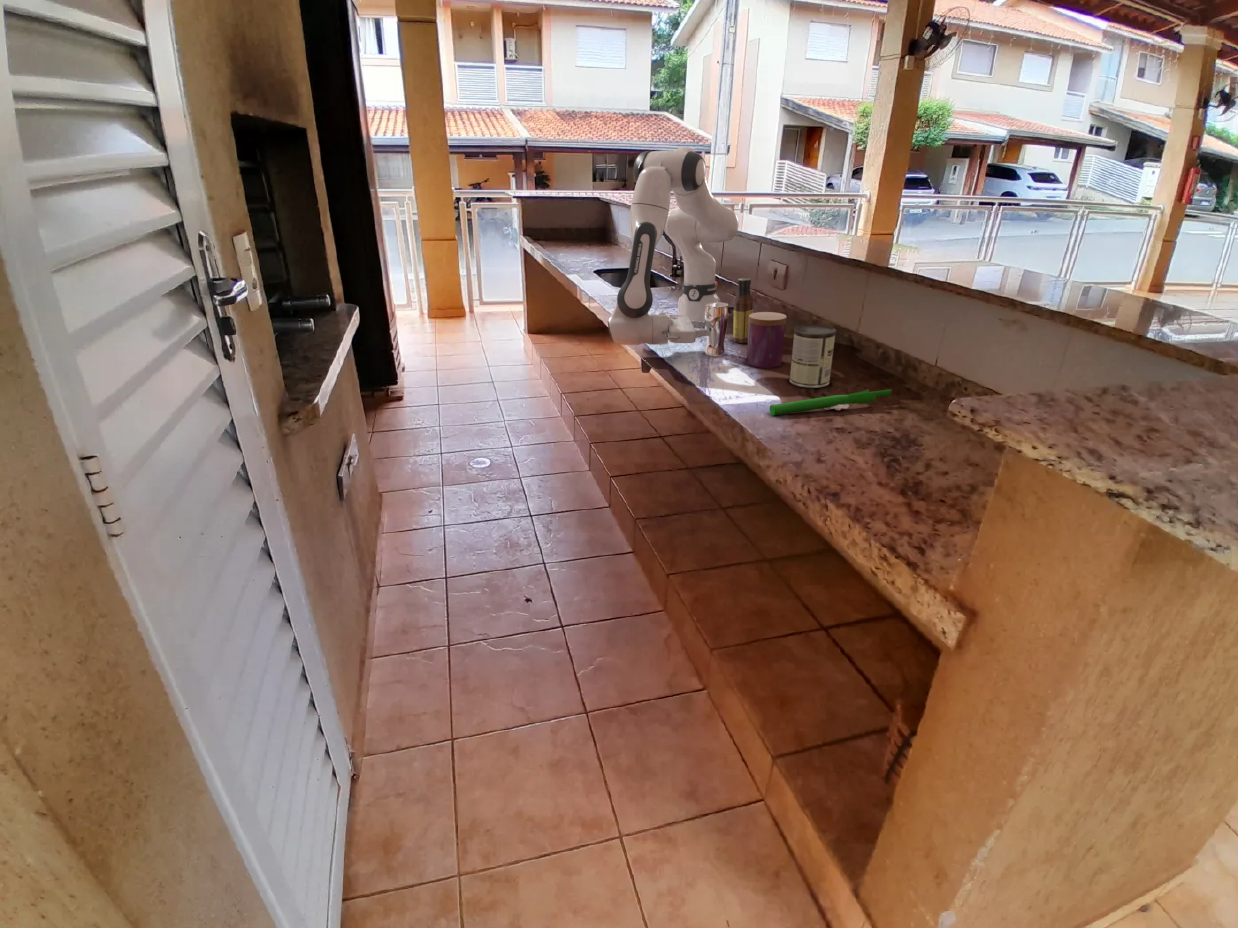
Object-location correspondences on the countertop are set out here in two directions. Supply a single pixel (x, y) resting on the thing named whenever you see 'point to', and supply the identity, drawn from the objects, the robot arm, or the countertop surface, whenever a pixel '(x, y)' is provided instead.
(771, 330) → the jar
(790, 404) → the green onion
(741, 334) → the sauce bottle
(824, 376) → the coffee can
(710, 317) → the metal cocktail shaker
